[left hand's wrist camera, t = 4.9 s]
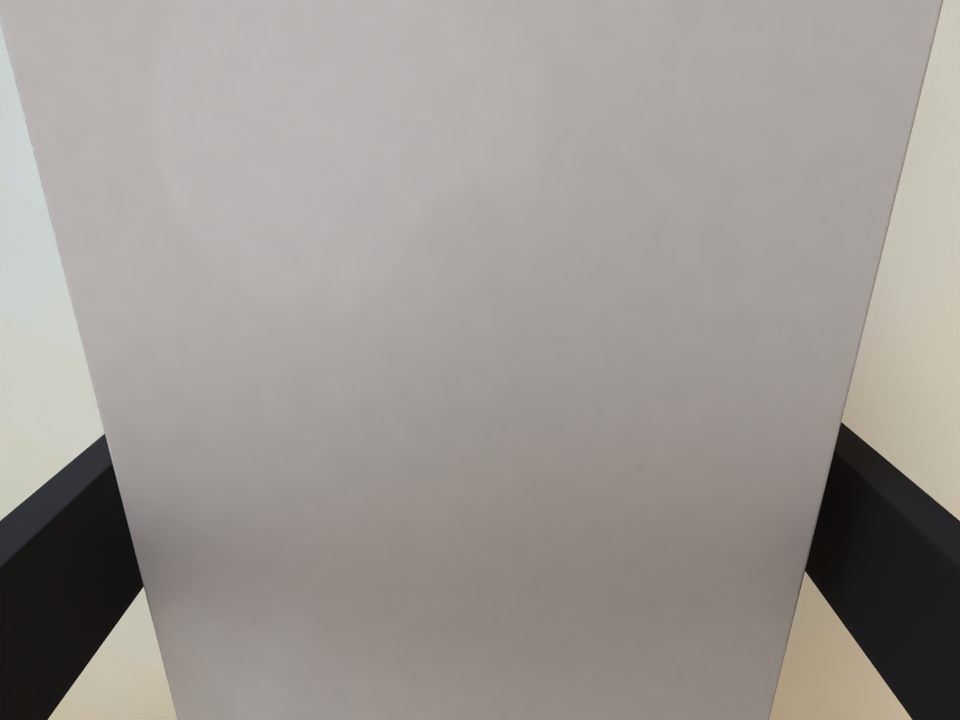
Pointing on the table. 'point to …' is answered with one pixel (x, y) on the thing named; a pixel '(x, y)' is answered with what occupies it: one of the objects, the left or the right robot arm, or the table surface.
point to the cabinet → (471, 332)
